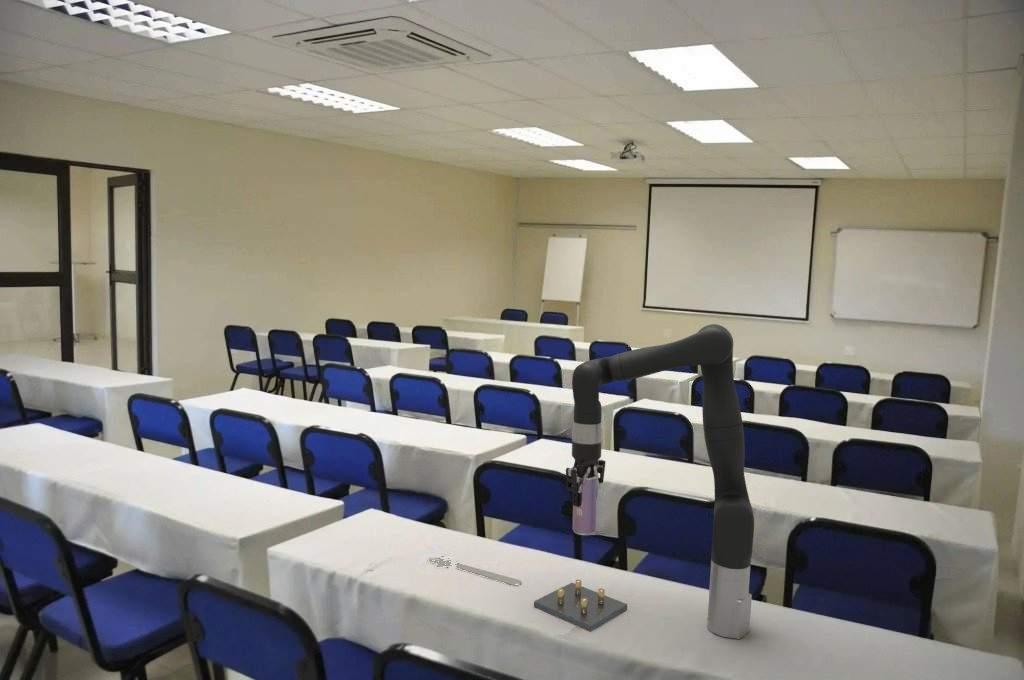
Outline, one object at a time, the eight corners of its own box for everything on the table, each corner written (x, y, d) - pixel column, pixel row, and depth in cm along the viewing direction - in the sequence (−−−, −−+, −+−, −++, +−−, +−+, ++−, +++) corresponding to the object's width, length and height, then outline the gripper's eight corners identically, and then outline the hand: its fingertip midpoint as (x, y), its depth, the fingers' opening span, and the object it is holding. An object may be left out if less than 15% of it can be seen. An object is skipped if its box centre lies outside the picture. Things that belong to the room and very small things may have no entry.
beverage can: (600, 531, 189) (601, 475, 187) (585, 537, 185) (587, 479, 183) (582, 525, 193) (583, 470, 192) (567, 531, 189) (569, 474, 187)
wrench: (436, 554, 221) (436, 552, 221) (528, 580, 205) (528, 577, 205) (419, 564, 214) (419, 561, 214) (513, 591, 198) (513, 588, 198)
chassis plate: (627, 609, 188) (628, 591, 188) (590, 631, 177) (591, 611, 176) (571, 587, 200) (572, 570, 200) (533, 606, 189) (534, 588, 188)
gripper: (581, 446, 179) (579, 513, 180) (615, 437, 189) (613, 500, 191) (557, 441, 184) (555, 506, 185) (591, 432, 194) (590, 494, 196)
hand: (584, 503), depth 188 cm, fingers closed on beverage can, 6 cm apart
